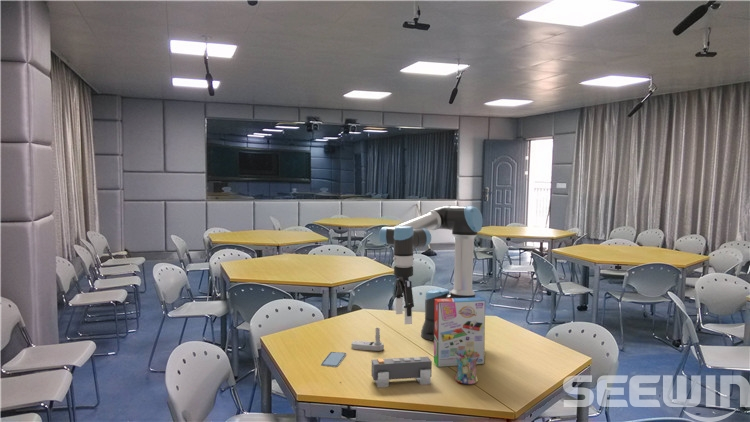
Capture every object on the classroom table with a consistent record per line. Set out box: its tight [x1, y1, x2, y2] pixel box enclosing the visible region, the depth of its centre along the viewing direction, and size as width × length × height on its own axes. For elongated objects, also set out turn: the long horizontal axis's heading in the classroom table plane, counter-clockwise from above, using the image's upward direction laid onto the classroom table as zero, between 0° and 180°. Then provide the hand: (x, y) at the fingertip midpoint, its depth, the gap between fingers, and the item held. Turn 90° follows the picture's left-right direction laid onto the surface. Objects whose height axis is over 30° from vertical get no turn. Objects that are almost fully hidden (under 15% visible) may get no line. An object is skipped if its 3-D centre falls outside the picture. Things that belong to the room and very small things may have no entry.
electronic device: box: [351, 327, 385, 352], centre depth 215 cm, size 5×10×15 cm
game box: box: [433, 296, 486, 368], centre depth 198 cm, size 21×6×27 cm, turn 100°
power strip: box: [371, 356, 433, 382], centre depth 179 cm, size 22×5×7 cm, turn 101°
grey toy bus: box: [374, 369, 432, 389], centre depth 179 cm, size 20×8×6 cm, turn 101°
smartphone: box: [320, 351, 347, 368], centre depth 201 cm, size 7×1×15 cm
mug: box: [454, 350, 480, 385], centre depth 179 cm, size 12×9×11 cm
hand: (403, 318), depth 188 cm, fingers open, 13 cm apart
